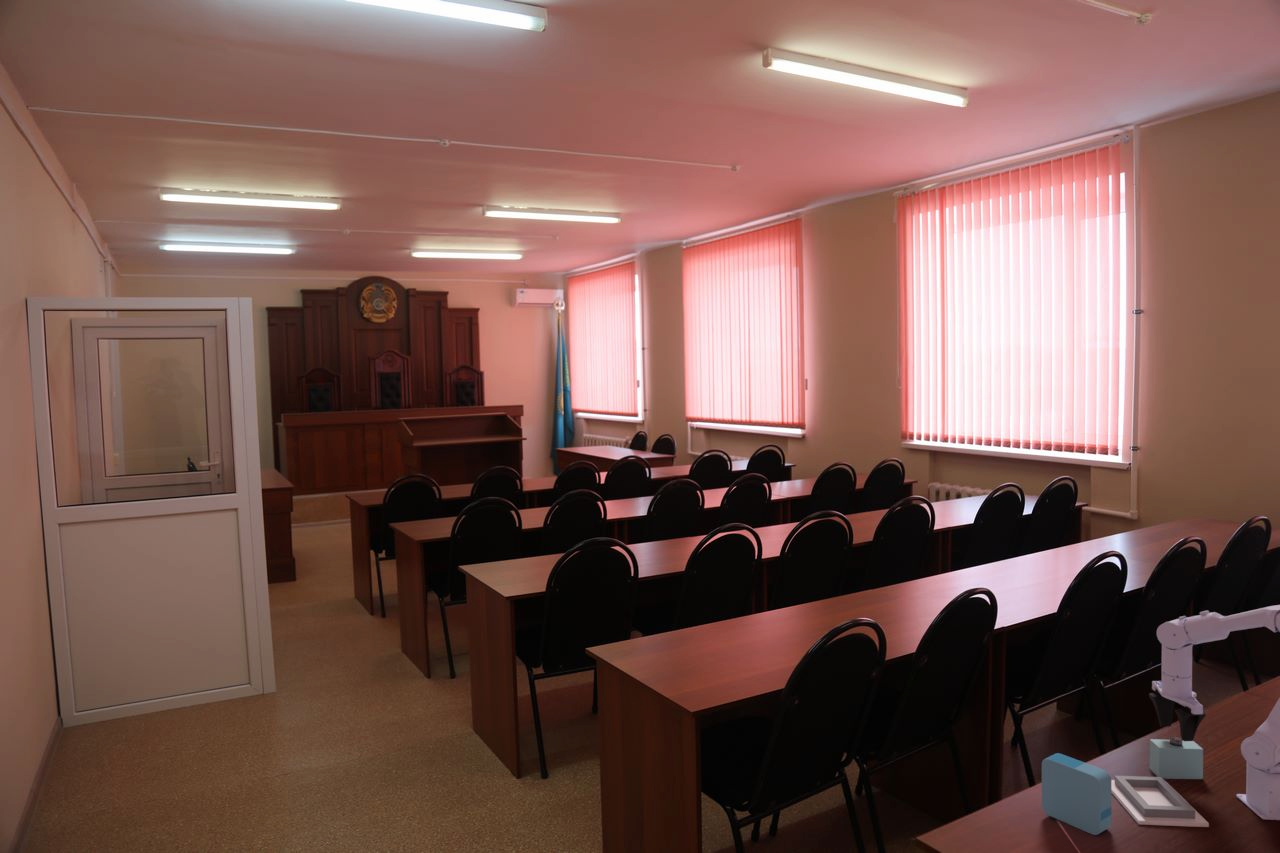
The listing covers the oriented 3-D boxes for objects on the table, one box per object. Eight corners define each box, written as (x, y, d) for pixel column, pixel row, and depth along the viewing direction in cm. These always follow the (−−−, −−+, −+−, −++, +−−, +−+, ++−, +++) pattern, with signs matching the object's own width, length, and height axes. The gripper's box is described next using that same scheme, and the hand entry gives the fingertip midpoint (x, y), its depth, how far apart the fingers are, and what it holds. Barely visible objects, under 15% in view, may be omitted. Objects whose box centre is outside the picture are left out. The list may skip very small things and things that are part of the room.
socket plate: (1208, 827, 165) (1208, 814, 165) (1138, 824, 166) (1138, 812, 166) (1166, 785, 182) (1166, 774, 181) (1103, 783, 183) (1103, 772, 183)
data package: (1111, 831, 164) (1112, 772, 164) (1099, 838, 162) (1099, 778, 161) (1053, 805, 174) (1053, 750, 174) (1041, 812, 172) (1041, 756, 171)
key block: (1202, 780, 184) (1203, 743, 183) (1159, 778, 185) (1159, 742, 184) (1192, 770, 188) (1192, 735, 187) (1149, 769, 189) (1149, 734, 189)
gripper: (1217, 685, 178) (1216, 746, 179) (1173, 661, 192) (1173, 719, 193) (1184, 686, 178) (1184, 747, 179) (1143, 662, 192) (1142, 720, 193)
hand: (1176, 733), depth 186 cm, fingers open, 7 cm apart
